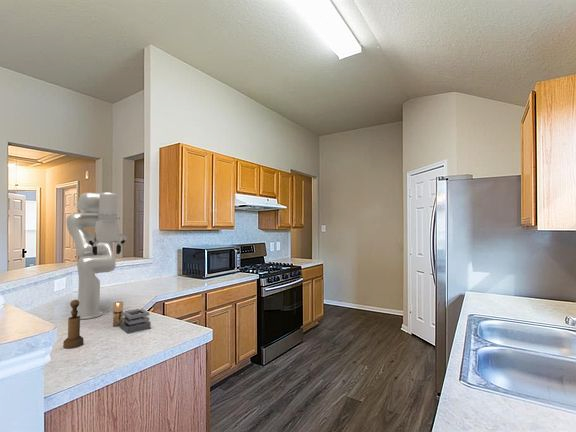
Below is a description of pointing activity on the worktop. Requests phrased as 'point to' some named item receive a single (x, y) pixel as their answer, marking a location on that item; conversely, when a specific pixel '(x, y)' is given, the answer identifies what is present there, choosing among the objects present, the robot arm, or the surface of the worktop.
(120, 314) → the copper tube
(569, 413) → the worktop surface
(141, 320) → the bracket
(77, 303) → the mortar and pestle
